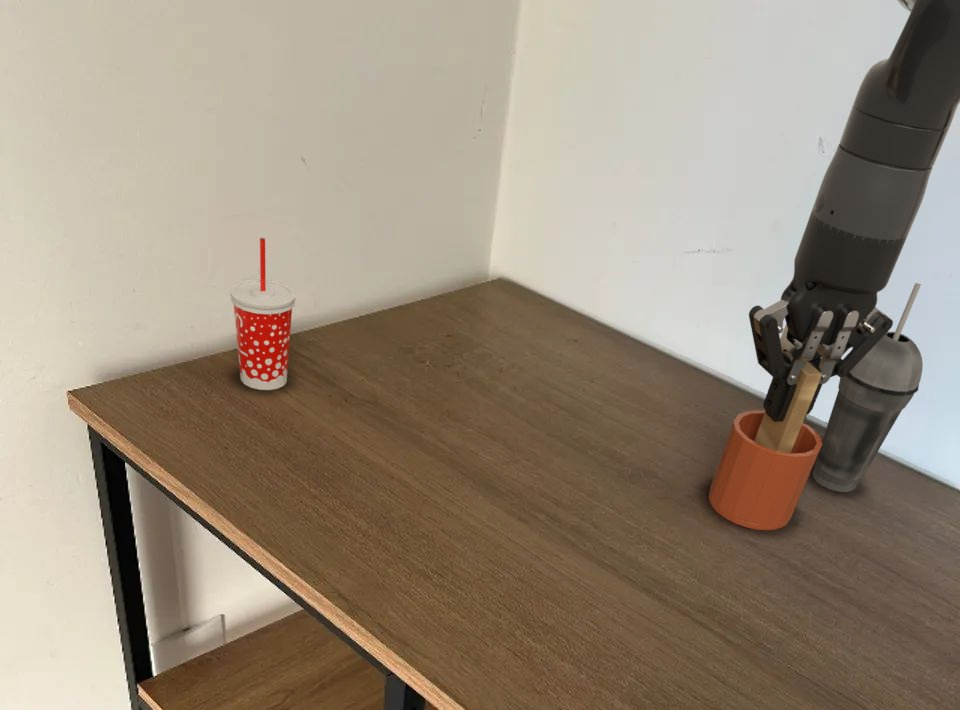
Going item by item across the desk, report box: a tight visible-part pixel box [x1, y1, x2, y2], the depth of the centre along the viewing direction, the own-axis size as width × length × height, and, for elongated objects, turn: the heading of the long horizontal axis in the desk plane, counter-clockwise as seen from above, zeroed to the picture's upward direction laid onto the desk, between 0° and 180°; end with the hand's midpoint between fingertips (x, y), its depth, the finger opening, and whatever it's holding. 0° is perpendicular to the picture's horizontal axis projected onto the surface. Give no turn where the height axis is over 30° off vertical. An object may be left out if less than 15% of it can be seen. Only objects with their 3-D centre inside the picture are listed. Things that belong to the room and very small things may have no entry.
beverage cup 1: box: [229, 237, 296, 391], centre depth 93 cm, size 6×6×14 cm
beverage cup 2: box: [811, 282, 924, 493], centre depth 92 cm, size 7×7×20 cm
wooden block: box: [754, 359, 822, 453], centre depth 87 cm, size 2×4×14 cm, turn 18°
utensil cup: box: [708, 410, 822, 531], centre depth 90 cm, size 8×8×8 cm
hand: (784, 416), depth 86 cm, fingers closed on wooden block, 1 cm apart
